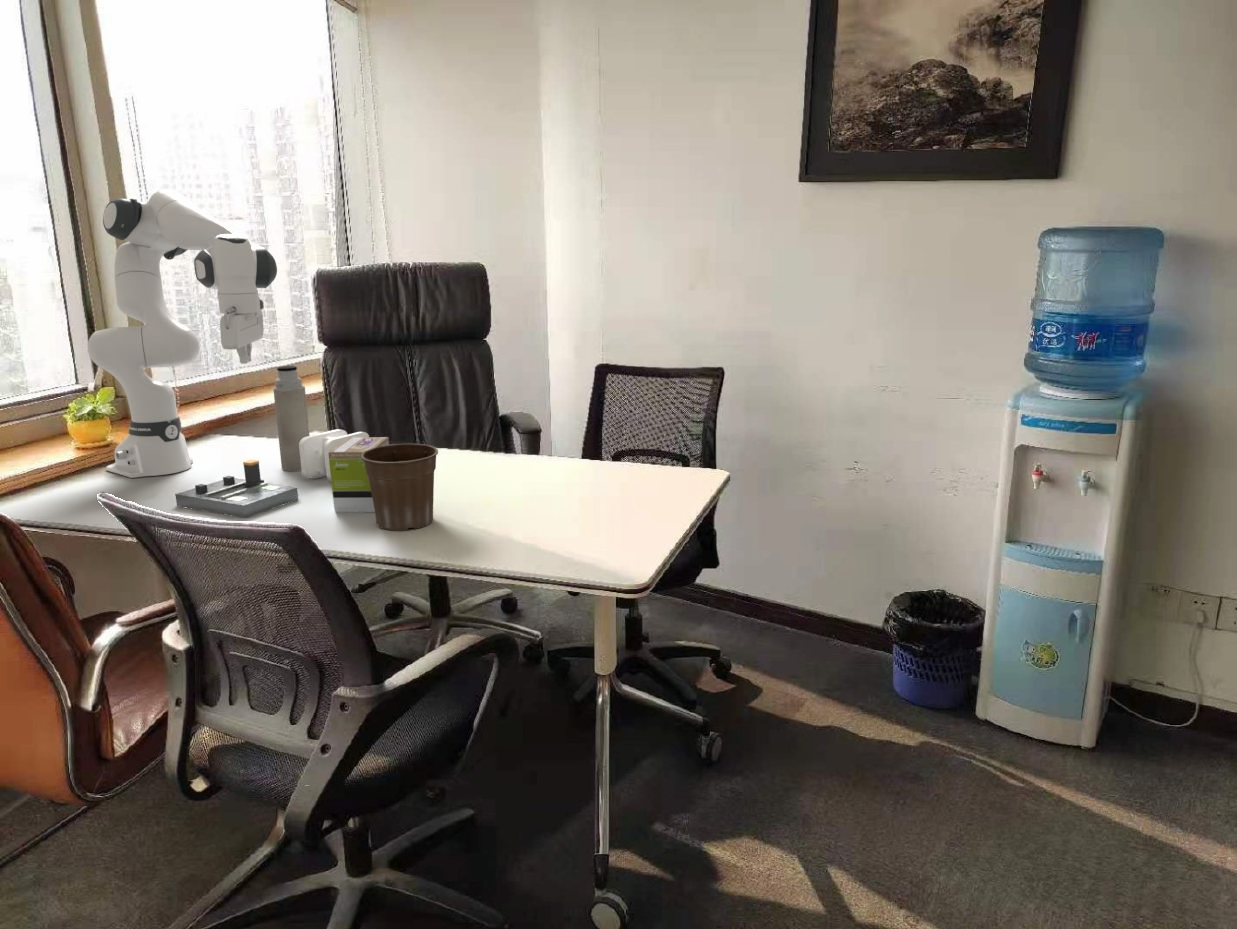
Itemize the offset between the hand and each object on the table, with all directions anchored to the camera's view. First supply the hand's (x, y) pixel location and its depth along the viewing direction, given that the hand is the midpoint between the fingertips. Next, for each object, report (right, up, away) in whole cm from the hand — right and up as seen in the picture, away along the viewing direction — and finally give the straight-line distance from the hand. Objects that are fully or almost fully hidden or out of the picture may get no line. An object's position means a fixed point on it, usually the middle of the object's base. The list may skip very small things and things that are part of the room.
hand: (245, 362), depth 207 cm
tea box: (+30, -34, -4) cm, 46 cm away
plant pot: (+43, -38, -18) cm, 60 cm away
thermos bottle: (+2, -26, +29) cm, 39 cm away
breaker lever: (+2, -29, 0) cm, 29 cm away
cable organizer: (+16, -28, +19) cm, 38 cm away
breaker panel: (0, -34, -3) cm, 34 cm away
